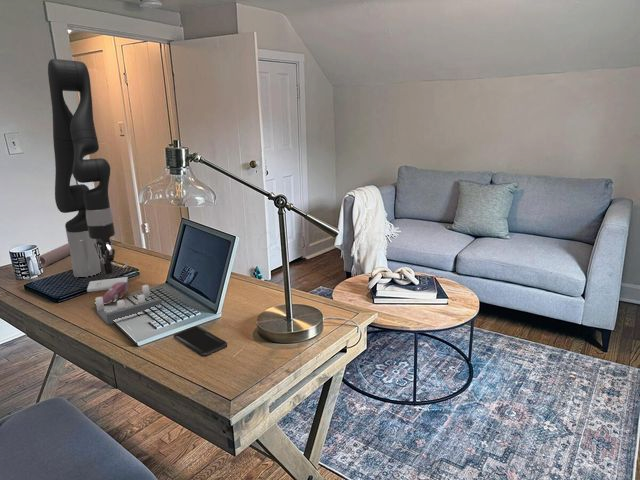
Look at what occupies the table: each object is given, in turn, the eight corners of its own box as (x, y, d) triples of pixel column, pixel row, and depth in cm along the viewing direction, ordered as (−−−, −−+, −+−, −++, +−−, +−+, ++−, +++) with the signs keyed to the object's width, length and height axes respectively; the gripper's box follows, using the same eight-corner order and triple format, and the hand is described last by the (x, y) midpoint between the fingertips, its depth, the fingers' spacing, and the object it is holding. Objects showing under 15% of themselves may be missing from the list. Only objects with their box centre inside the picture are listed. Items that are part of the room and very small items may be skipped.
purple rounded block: (109, 310, 143) (115, 293, 141) (96, 303, 144) (102, 286, 141) (127, 298, 153) (133, 281, 150) (116, 291, 153) (121, 274, 150)
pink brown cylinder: (45, 257, 177) (75, 243, 194) (34, 255, 177) (65, 242, 194) (46, 268, 178) (76, 253, 195) (35, 266, 179) (66, 252, 196)
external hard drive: (127, 288, 158) (87, 293, 154) (128, 280, 165) (90, 284, 162) (126, 284, 158) (86, 289, 154) (127, 276, 165) (89, 280, 161)
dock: (96, 313, 138) (94, 297, 137) (148, 298, 148) (147, 284, 147) (108, 324, 131) (105, 308, 129) (162, 308, 141) (160, 293, 139)
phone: (202, 354, 113) (171, 335, 123) (203, 358, 114) (172, 338, 123) (229, 343, 119) (197, 325, 129) (229, 347, 119) (197, 328, 129)
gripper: (81, 221, 148) (90, 271, 153) (94, 227, 139) (103, 281, 143) (105, 217, 153) (113, 266, 158) (119, 223, 143) (127, 275, 148)
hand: (108, 273), depth 150 cm, fingers closed
